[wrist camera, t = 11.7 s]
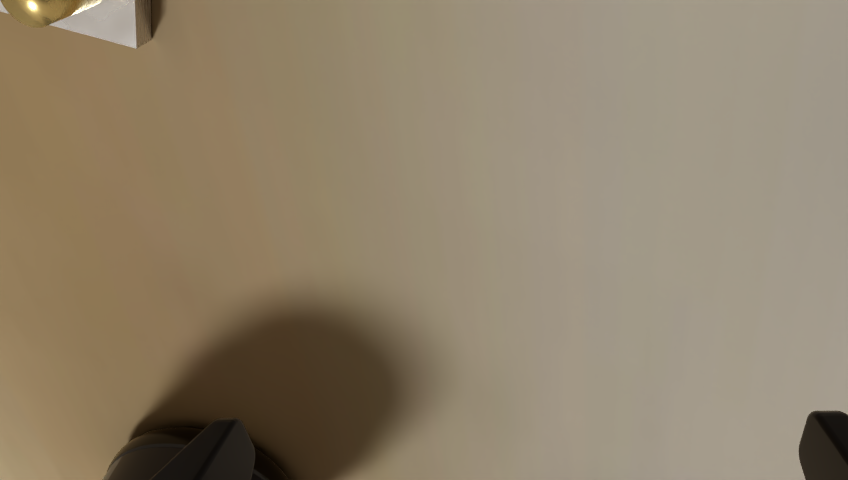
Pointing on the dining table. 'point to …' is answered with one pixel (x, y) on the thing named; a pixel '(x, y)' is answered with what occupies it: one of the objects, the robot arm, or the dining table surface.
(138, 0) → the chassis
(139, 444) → the supplement container
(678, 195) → the dining table surface
